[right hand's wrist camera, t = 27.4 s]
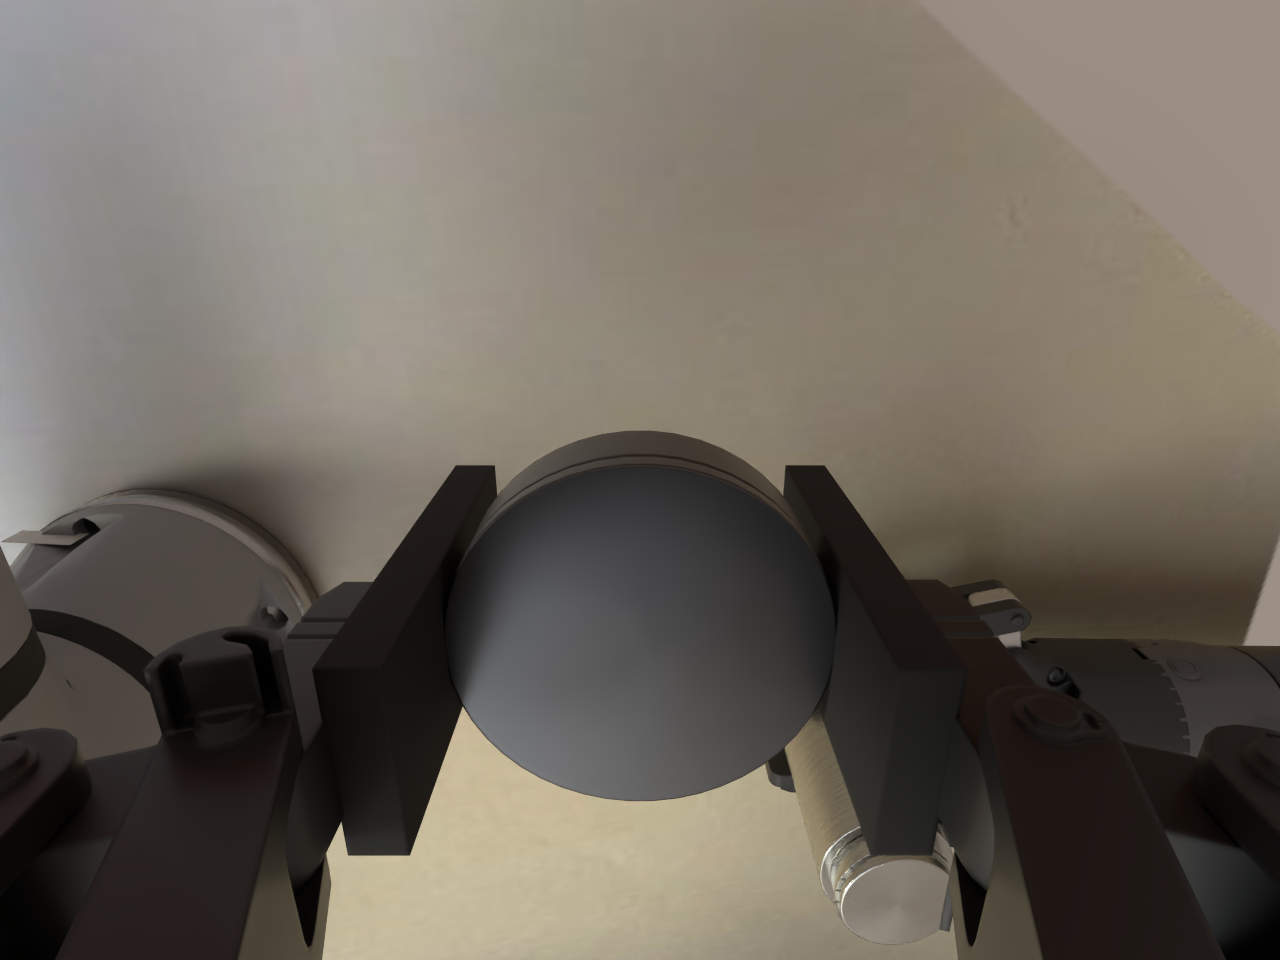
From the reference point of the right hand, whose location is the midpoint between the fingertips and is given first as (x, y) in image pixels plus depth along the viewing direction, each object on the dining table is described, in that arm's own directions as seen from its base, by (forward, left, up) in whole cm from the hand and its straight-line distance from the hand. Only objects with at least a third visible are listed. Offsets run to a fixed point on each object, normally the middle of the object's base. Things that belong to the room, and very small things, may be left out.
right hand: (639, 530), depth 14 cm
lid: (0, 0, +4) cm, 4 cm away
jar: (-10, -16, -21) cm, 28 cm away
